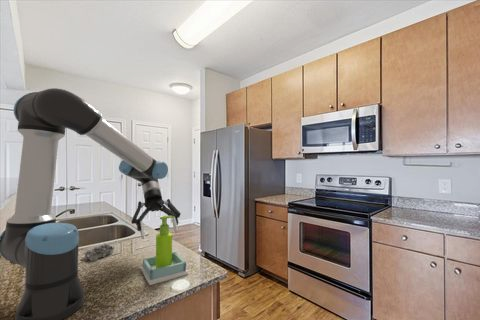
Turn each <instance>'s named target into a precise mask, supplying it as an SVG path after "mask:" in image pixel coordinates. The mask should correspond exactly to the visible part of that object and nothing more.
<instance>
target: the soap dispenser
mask: <svg viewBox="0 0 480 320" xmlns="http://www.w3.org/2000/svg"><path fill="white" fill-rule="evenodd" d="M173 218H174V216H168V215H164V216H160V217H159V219H160V220H161V224H160V225H159V233H157V234H156V235H155V242H156V243H155V256H156V269H157V268H161V267H165V266H169V265H172V253H173V233H172V232H170V224H168V221H167V220H168V219H173Z"/></svg>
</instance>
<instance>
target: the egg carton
mask: <svg viewBox="0 0 480 320" xmlns="http://www.w3.org/2000/svg"><path fill="white" fill-rule="evenodd" d="M115 247H116V246H115ZM115 247H113V246H112V245H109V244H106V243H104V244H101V245H99V246H96V247H93V248H90V249H86V250H85V251H83V255H84V260H86V261H87V260H89V261H90V262H93V261H94V262H95V261H98V260H99V259H102V258H101V257H104V258H105V257H106V256H110V255H112V254H114V249H115ZM98 258H99V259H98Z"/></svg>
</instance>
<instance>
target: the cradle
mask: <svg viewBox="0 0 480 320" xmlns="http://www.w3.org/2000/svg"><path fill="white" fill-rule="evenodd" d="M140 270H141V272H142V274H143V276H144V277H145V279H146V282H147V284H148V285H149V286H151V285H155V284H158V283H162V282H166V281H169V280H173V279H176V278H180V277H183V276H187V275H189V270H187V262H186V261H185V260H184V259H183V257H181V256H180V255H179V254H178V253H177V252H176V251H172V265H169V266H165V267H161V268H157V269H156V255H155V256H151V257H146V258H143V259H142V265H141V266H140Z"/></svg>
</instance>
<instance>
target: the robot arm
mask: <svg viewBox="0 0 480 320" xmlns="http://www.w3.org/2000/svg"><path fill="white" fill-rule="evenodd" d="M13 115H14V117H15V119H16V120H17V121H18V122H17V132H19V134H20V135H21V136H22V137H23V139H22V147H21V156H20V157H21V158H20V164H19V173H18V174H19V175H18V181H17V182H18V183H17V190H16V198H15V206H14V207H15V208H14V214H13V215H12V216H10V217H9V218H7V220H6V224H5V230H3V231H2V232H1V233H0V255H1V257H2V258H3V259H5V260H6V261H9V262H10V263H13V264H17V265H19V266H21V267H22V268H25V271H24V275H25V277H24V278H25V279H24V282H25V284H24V291H23V292H22V293H23V294H22V295H21V297H20V298H21V299H20V300H19V303H18V306H17V308H16V312H15V320H64V319H66V318H68V317H70V316H71V315H73V314H74V313H75V312H77V311H78V310H80V308H82V306H83V305H84V303H85V290H84V288H83V285H82V283H81V281H80V278H79V243H80V235H79V229H78V228H77V226H76V225H74V224H71V223H67V222H57V216H55V215H54V214H53V213H52V206H53V205H52V204H53V197H54V196H53V194H54V185H55V178H56V177H55V176H56V167H57V159H58V148H59V140H61V139H63V138H64V137H65V135H66V130H67V129H68V130H71V131H73V132H75V133H77V134H78V135H79V136H87V137H88V138H90V139H91V140H92V141H94V142H96V143H97V144H99V145H100V146H102V148H104V149H106V150H107V151H109V152H110V153H112V154H114V155H115V156H116V157H118V158H119V159H120V160H121V162H120V163H119V165H118V171H119V172H120V173H122V174H124V176H127V177H130V178H132V179H133V180H136V181H137V182H140V184H141V186H142V191H143V193H142V194H143V199H144V200H143V201H144V202H142V201H140V200H139V201H138V202H137V208H136V210H135V212H134V214H133V217H132V219H131V224H132V225H134V224H135V225H136V230H137V232H140V236H141V240H143V239H144V237H145V236H146V235H145V231H144V230H145V229H144V223H143V222H144V221H143V219H144V218H145V217H146V216H147V215H148V214H149V212H159V211H160V212H162V213H164V214H166V216H174V218H171V221H172V222H171V223H172V227H173V230H174V234H178V231H179V227H178V225H179V220H178V219H179V218H180V216H181V214H182V213H181V211H179V210H178V209H177V208H176V207H175V206H174V205H173V203H172V202H171V199H169V198H168V199H167V200H163V197H162V191H161V187H160V184H159V180H162V179H165V178H166V177H167V175H168V174H169V167H168V165H167V163H166V162H164V161H160V160H156V159H154V158H153V157H152V156H150V155H149V153H147V152H146V151H145V150H144V149H142V148H141V147H139V146H138V145H137V144H135V142H134V141H132V140H130V138H128V137H127V136H125V135H124V134H123V133H122V132H121V131H119V130H118V129H117V128H115V127H114V126H113V125H112V124H110V123H109V122H108V121H106V119H104V118H103V113H102V112H100V110H98V109H96V108H95V107H94V106H93V105H91V104H90V103H89V102H88V101H86V100H85V99H83V98H82V97H80V96H78V95H77V94H75V93H73V92H71V91H69V90H66V89H62V88H57V87H56V88H47V89H44V90H41V91H33V92H29V93H26V94H24V95H22V96H20V98H18V99H17V100H16V101H15V103H14V106H13ZM143 207H145V209H144V211H143V212H142V213H141V215H140V216H138V215H139V214H140V212H141V209H143Z"/></svg>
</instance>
